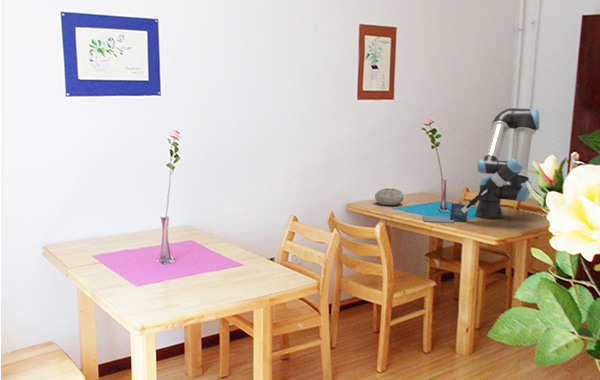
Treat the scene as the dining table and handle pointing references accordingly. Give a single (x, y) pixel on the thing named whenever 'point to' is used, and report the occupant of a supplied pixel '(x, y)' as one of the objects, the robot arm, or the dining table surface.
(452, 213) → the flask
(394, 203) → the cratered grey rock
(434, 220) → the mat
